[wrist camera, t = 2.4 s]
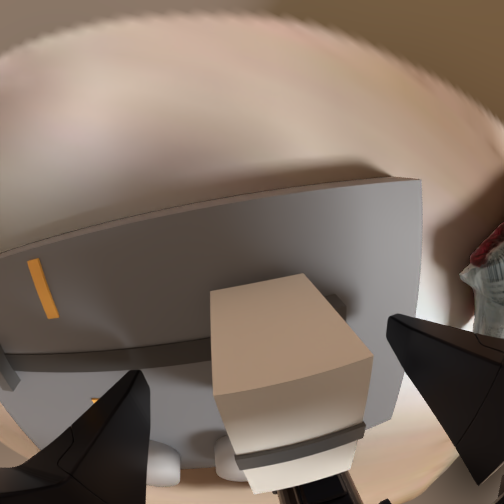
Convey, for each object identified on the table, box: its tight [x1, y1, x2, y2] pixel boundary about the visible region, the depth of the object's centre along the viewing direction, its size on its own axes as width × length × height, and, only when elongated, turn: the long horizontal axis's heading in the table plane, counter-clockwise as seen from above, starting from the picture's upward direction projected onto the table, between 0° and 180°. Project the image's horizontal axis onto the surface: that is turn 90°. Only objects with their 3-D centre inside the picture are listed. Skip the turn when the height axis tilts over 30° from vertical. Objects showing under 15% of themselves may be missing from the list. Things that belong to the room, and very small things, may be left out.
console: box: [0, 177, 422, 487], centre depth 10 cm, size 24×14×4 cm, turn 99°
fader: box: [210, 273, 374, 494], centre depth 7 cm, size 3×5×5 cm, turn 9°
